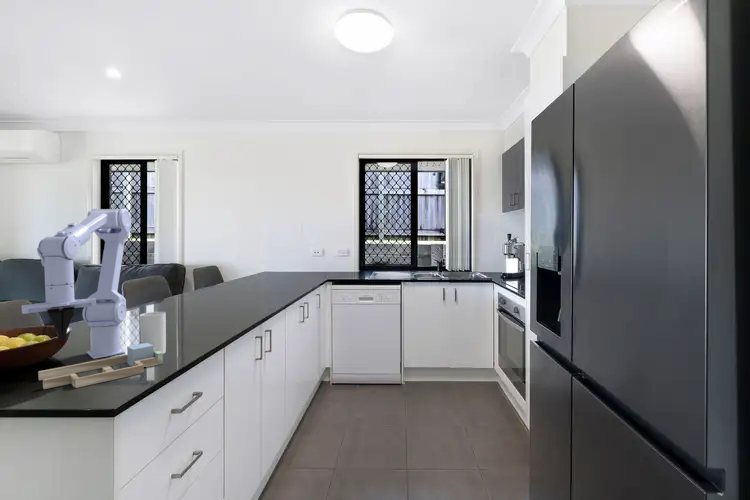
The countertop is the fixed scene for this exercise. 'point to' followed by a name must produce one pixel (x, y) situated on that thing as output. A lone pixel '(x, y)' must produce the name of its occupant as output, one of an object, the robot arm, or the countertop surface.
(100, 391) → the countertop surface
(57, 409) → the countertop surface
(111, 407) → the countertop surface
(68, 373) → the beige flat frame
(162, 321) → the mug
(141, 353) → the block
